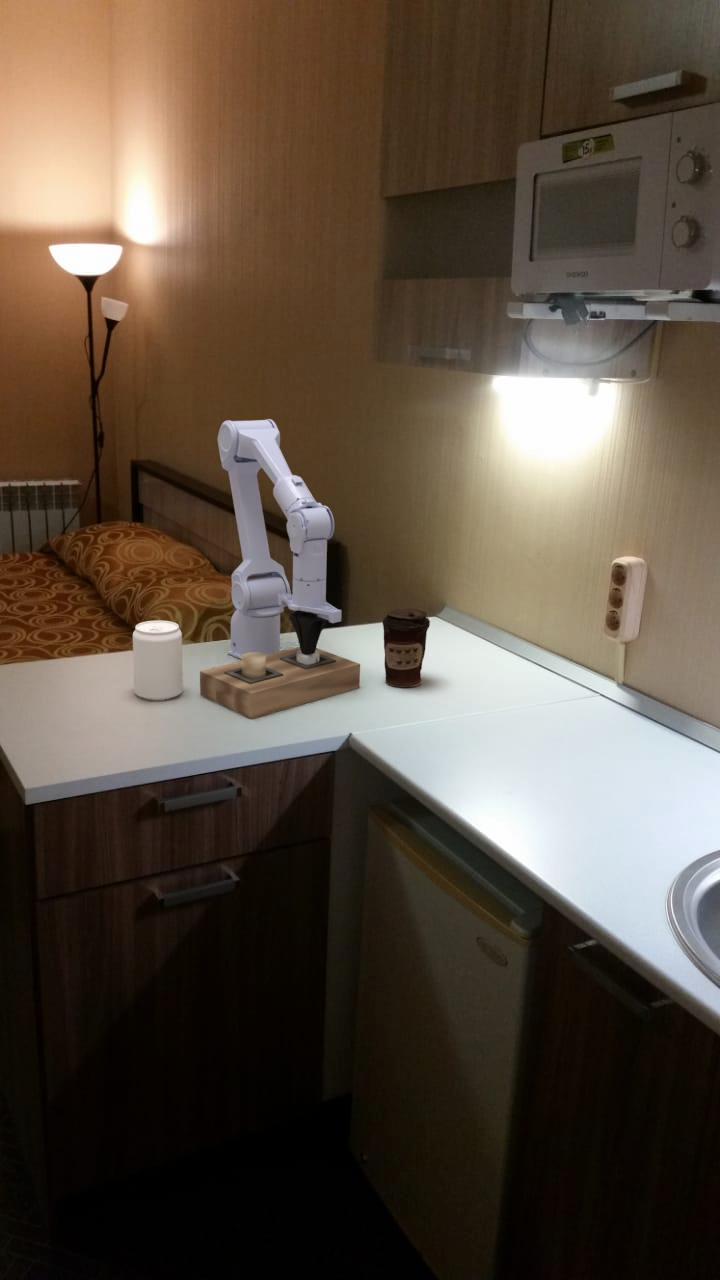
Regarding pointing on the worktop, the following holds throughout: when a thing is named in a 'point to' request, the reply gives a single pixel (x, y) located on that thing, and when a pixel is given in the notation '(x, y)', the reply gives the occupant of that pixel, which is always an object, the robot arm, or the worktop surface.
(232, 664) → the socket block
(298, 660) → the metal peg
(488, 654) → the worktop surface
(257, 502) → the robot arm
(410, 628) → the coffee cup
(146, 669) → the beverage can
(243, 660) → the maple peg
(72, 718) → the worktop surface
